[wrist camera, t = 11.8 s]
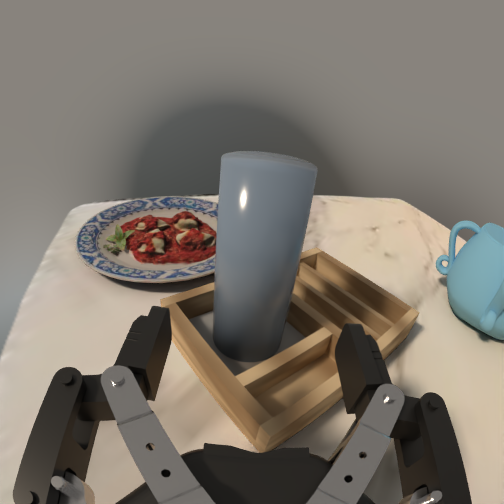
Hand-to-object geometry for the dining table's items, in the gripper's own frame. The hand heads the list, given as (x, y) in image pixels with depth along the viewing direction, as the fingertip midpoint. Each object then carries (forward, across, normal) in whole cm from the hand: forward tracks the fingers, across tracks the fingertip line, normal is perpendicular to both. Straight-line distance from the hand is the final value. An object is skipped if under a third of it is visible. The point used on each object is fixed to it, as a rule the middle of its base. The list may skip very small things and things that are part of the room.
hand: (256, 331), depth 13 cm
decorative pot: (+15, -33, +11) cm, 38 cm away
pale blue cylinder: (+9, 0, +9) cm, 13 cm away
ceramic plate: (+27, +12, +11) cm, 32 cm away
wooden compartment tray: (+10, -5, +10) cm, 15 cm away
